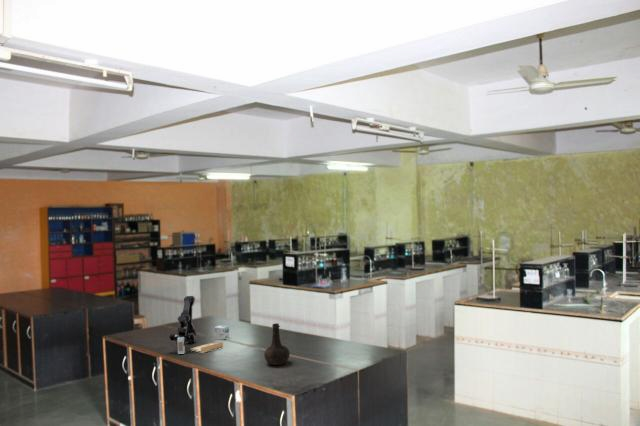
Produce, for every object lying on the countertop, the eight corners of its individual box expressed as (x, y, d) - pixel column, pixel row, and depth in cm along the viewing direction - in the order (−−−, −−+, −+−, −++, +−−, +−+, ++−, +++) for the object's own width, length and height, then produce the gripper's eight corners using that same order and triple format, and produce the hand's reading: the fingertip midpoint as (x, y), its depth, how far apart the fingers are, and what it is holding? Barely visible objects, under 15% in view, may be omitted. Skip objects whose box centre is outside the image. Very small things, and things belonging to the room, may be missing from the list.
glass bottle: (273, 369, 346) (271, 328, 346) (260, 363, 361) (258, 324, 361) (294, 363, 357) (293, 323, 357) (281, 358, 371) (279, 320, 371)
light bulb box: (229, 338, 440) (229, 325, 440) (225, 340, 434) (224, 327, 434) (219, 337, 444) (219, 325, 444) (214, 339, 438) (214, 326, 438)
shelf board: (190, 351, 403) (189, 348, 403) (211, 345, 418) (210, 342, 418) (201, 354, 393) (201, 351, 393) (222, 348, 407) (222, 345, 407)
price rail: (201, 351, 393) (200, 347, 393) (222, 345, 408) (221, 341, 408) (201, 351, 393) (201, 347, 393) (222, 345, 407) (222, 342, 407)
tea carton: (179, 353, 397) (178, 336, 397) (185, 353, 397) (184, 336, 397) (177, 355, 393) (177, 338, 393) (183, 354, 393) (183, 337, 393)
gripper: (169, 323, 399) (166, 341, 388) (193, 322, 400) (191, 339, 389) (172, 331, 407) (169, 348, 396) (195, 330, 408) (193, 347, 397)
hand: (180, 346), depth 394 cm, fingers closed on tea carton, 4 cm apart
